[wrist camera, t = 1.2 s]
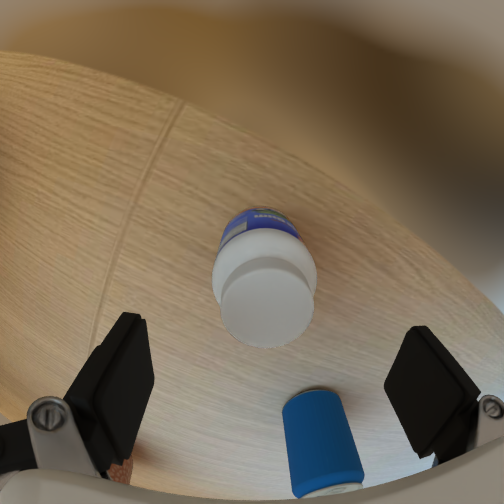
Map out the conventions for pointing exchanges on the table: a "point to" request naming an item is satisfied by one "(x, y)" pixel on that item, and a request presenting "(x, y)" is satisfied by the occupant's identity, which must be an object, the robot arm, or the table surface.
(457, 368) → the robot arm
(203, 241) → the table surface
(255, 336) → the pill bottle
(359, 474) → the beverage can
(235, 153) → the table surface
